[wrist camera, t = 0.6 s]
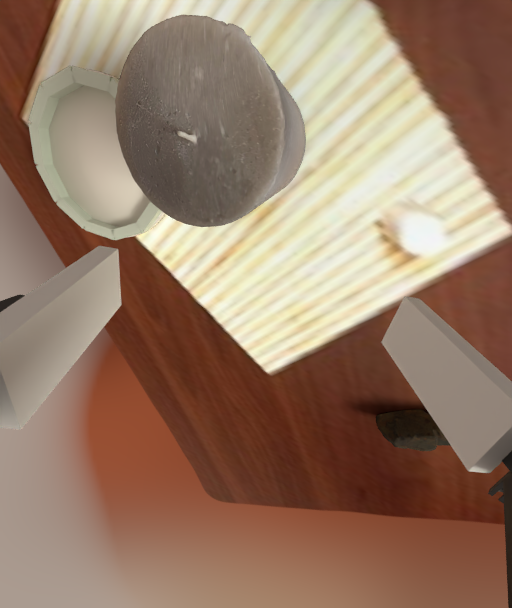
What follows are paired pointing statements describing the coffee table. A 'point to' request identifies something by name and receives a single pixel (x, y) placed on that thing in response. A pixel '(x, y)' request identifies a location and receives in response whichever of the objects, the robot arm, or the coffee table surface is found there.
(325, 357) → the coffee table surface
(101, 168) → the candle plate
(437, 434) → the dark brown bark log
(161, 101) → the pillar candle
